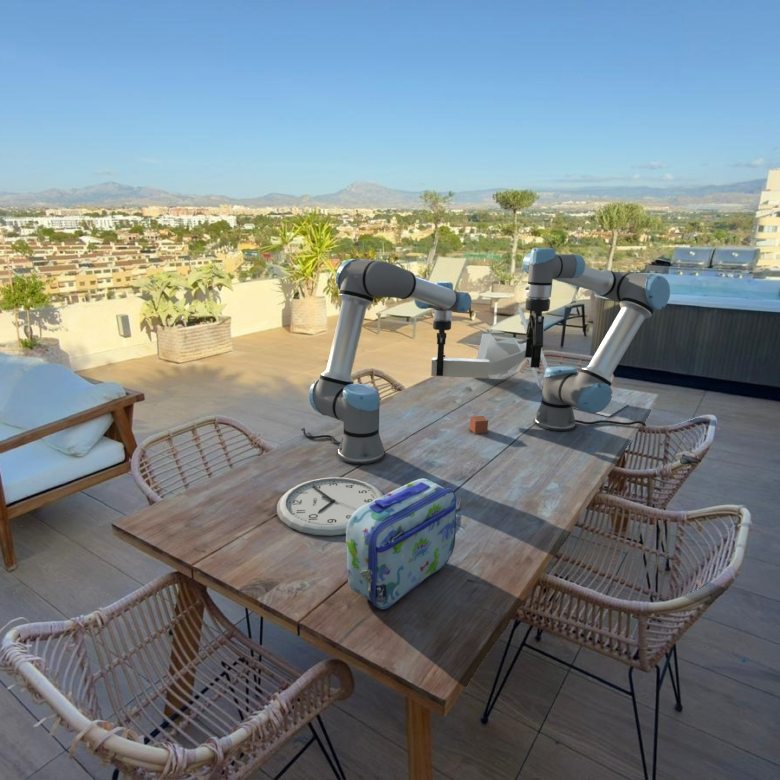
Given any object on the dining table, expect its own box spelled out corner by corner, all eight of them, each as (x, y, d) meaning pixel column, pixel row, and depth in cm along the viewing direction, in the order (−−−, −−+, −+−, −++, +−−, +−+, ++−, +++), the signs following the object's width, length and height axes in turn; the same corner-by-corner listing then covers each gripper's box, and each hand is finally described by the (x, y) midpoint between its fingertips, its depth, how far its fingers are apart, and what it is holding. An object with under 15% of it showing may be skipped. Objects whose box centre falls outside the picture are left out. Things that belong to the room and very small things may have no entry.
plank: (487, 375, 223) (488, 359, 221) (488, 378, 219) (489, 362, 217) (431, 373, 226) (432, 357, 224) (431, 375, 222) (431, 359, 220)
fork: (437, 530, 132) (438, 523, 131) (452, 500, 146) (452, 494, 145) (447, 532, 131) (448, 525, 130) (461, 502, 145) (462, 496, 144)
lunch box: (375, 622, 100) (376, 527, 94) (339, 595, 108) (338, 505, 101) (459, 565, 118) (465, 481, 112) (424, 545, 125) (427, 465, 119)
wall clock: (392, 527, 129) (269, 531, 127) (392, 533, 130) (269, 537, 127) (383, 473, 158) (282, 475, 155) (383, 478, 158) (283, 480, 156)
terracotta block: (482, 428, 200) (482, 415, 198) (487, 432, 195) (488, 420, 194) (469, 429, 199) (470, 416, 197) (474, 433, 194) (475, 421, 193)
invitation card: (608, 416, 214) (573, 407, 224) (608, 416, 214) (573, 407, 224) (627, 404, 229) (594, 396, 238) (627, 405, 229) (594, 397, 239)
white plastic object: (488, 419, 266) (468, 396, 241) (469, 346, 288) (449, 319, 263) (559, 395, 254) (545, 368, 229) (533, 321, 276) (519, 290, 251)
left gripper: (434, 315, 225) (431, 368, 232) (432, 323, 208) (430, 379, 215) (451, 316, 224) (448, 369, 231) (451, 323, 208) (448, 380, 215)
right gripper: (521, 292, 180) (516, 353, 186) (531, 302, 156) (525, 371, 162) (544, 293, 179) (537, 354, 185) (557, 303, 155) (549, 372, 162)
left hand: (439, 373), depth 223 cm, fingers closed on plank, 4 cm apart
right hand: (531, 362), depth 174 cm, fingers open, 13 cm apart
